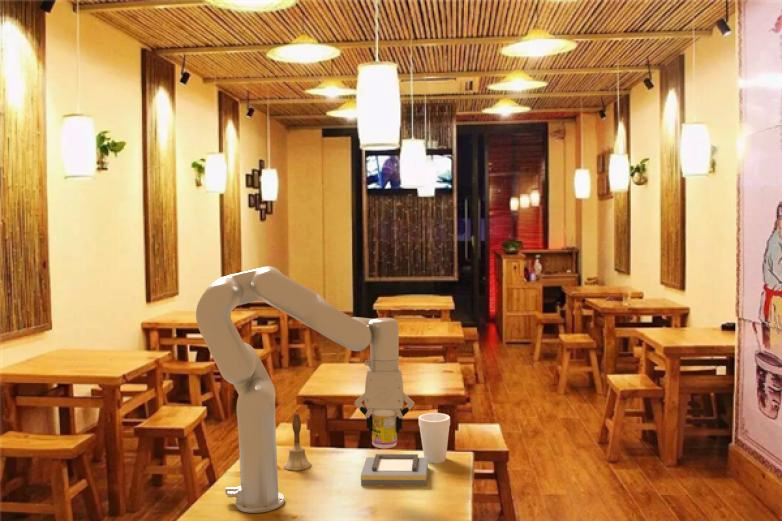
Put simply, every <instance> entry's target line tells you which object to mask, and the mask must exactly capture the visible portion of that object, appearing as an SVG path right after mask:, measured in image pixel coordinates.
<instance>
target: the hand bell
mask: <svg viewBox="0 0 782 521" xmlns="http://www.w3.org/2000/svg"><path fill="white" fill-rule="evenodd" d="M291 426H292V431H293V436H294V438H293V439H294V440H293V446H292V447H290V448H289V451H288V452H289V454H288V458H287V459H286V461H285V462H284V463H283V468H284V469H285V470H287V471H294V472H295V471H303V470H307V469H310V468H311V467H312V462H311V461H309V459H308V457H307V456H306V451H305V450H306V448H305V447H304V446H301V445H300V443H301V441H300V440H301V439H300V433H301V429H302V420H301V417H300V413H299V412H295V413H294V414H293V418H292V424H291Z"/></svg>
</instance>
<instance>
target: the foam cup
mask: <svg viewBox="0 0 782 521" xmlns="http://www.w3.org/2000/svg"><path fill="white" fill-rule="evenodd" d="M418 426H419V432H420V438H421V446H422V451H423V452H422V453H423V458H428V463H431V464H440V463H443V462H445V461H446V460H447V450H448V443H449V441H448V440H449V432H450V426H451V416H449V414H446V413H441V412H429V413H423V414H420V415H419V416H418Z"/></svg>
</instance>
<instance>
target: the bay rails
mask: <svg viewBox="0 0 782 521" xmlns="http://www.w3.org/2000/svg"><path fill="white" fill-rule="evenodd" d="M374 457H375V459H374V462H373V466H372V471H376V470H377V466H378V463H379V459H413V464H412V471H416V470H417V462H418V458H419V454H418V453H415V454H412V453H411V454H409V453H408V454H404V453H402V454H401V453H400V454H399V453H398V454H394V453H392V454H390V453H389V454H387V453H386V454H385V453H383V454H382V453H378V454H377V453H376V454H375V456H374Z"/></svg>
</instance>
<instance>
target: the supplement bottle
mask: <svg viewBox="0 0 782 521" xmlns="http://www.w3.org/2000/svg"><path fill="white" fill-rule="evenodd" d="M396 419H397V413H396V411H395V410H387V409H373V411H372V432H371V440H372V441H371V443H372V446H374V447H376V448H380V449H389V448H390V449H391V448H393V447H396V445H397V443H398V433H396Z"/></svg>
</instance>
